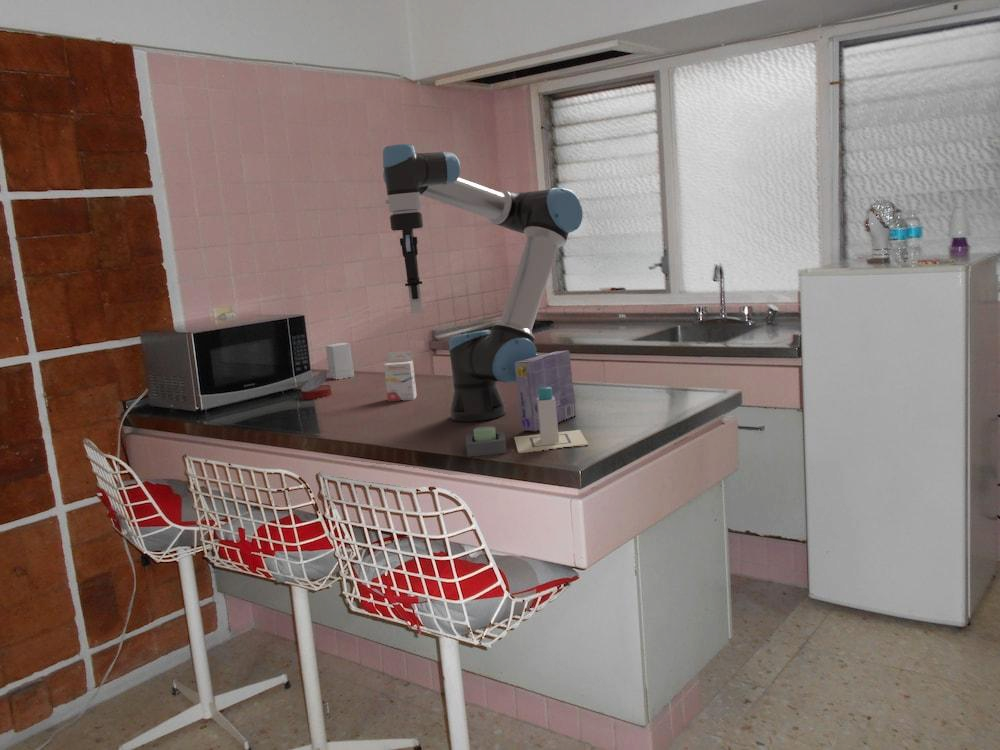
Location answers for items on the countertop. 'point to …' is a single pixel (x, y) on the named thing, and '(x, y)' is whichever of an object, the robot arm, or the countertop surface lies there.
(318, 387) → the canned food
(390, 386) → the ink cartridge box
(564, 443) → the cream square mat
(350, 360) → the supplement box
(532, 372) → the cake pan box
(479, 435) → the button
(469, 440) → the button box
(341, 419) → the countertop surface
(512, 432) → the countertop surface
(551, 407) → the teal capped white bottle
